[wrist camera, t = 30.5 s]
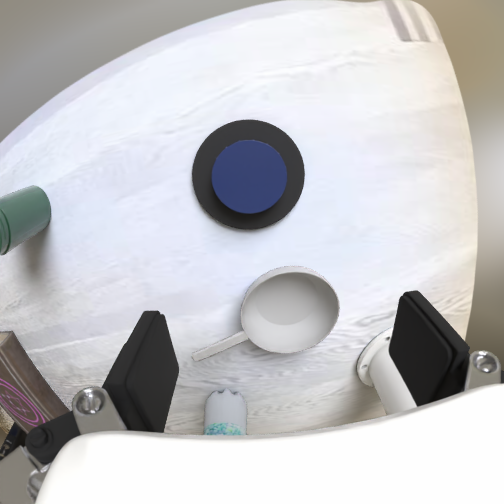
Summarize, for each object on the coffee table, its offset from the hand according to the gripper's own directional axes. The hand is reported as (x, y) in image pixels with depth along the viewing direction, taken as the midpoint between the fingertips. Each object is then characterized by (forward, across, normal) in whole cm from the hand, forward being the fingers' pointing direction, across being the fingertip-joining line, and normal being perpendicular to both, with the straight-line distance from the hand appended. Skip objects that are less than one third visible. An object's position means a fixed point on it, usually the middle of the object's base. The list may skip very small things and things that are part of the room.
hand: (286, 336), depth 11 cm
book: (+20, +53, +32) cm, 65 cm away
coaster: (+20, +1, -4) cm, 20 cm away
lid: (+18, +1, -4) cm, 18 cm away
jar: (+19, +28, -4) cm, 35 cm away
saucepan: (+20, +1, +12) cm, 24 cm away
